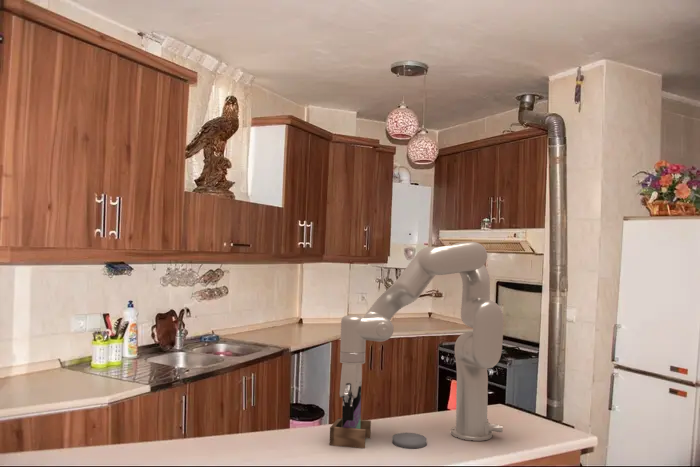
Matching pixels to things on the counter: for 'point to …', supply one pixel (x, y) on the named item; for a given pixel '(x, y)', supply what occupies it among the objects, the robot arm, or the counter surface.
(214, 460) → the counter surface
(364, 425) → the frame
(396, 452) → the counter surface
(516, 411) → the counter surface
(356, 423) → the spray can
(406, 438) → the mat
